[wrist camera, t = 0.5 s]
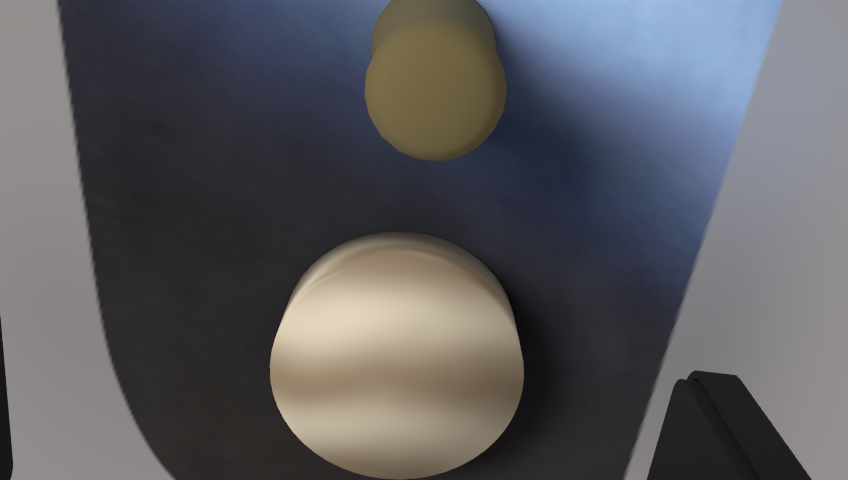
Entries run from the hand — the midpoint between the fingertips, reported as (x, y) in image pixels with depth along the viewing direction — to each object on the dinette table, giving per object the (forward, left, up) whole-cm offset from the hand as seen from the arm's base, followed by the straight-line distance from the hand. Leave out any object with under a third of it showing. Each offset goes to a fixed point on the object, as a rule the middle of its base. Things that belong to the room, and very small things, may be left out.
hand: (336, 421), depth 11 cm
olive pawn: (-1, +1, -29) cm, 29 cm away
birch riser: (+15, +1, -28) cm, 32 cm away
